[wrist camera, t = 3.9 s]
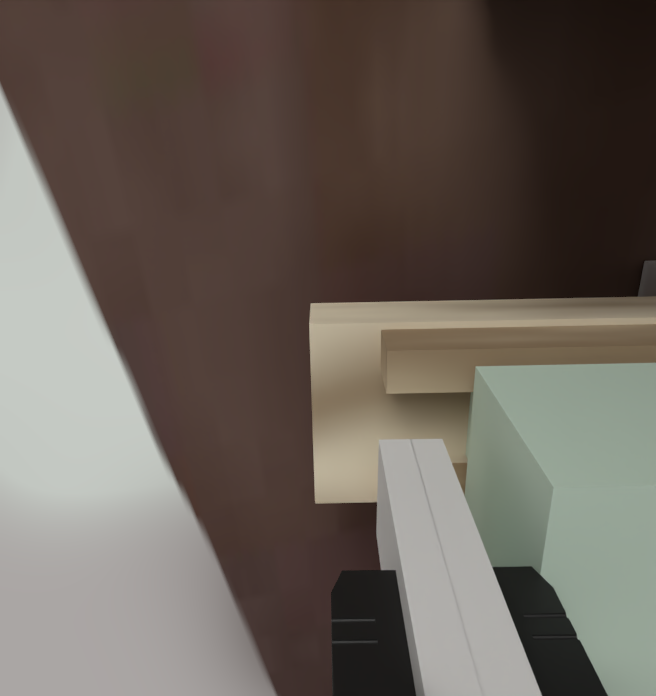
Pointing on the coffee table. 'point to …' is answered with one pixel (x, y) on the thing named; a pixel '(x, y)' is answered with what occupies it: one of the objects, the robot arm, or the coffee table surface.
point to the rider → (574, 499)
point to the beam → (444, 368)
